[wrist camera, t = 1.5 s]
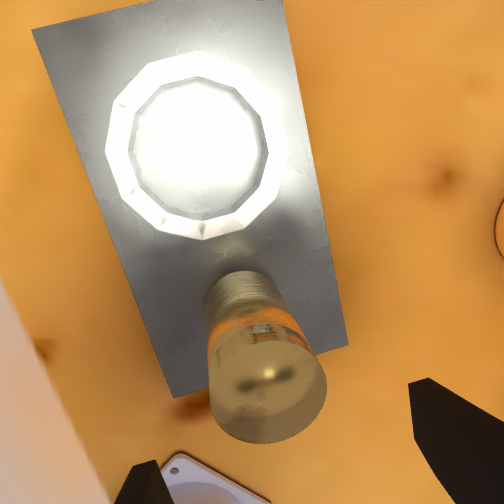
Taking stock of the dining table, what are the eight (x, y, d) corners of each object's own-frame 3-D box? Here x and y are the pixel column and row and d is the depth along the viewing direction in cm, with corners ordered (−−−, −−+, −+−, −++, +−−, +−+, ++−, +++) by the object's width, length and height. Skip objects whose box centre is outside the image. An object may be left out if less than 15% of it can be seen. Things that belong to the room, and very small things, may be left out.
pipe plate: (341, 335, 22) (359, 359, 19) (174, 386, 21) (171, 418, 19) (271, -20, 16) (285, -46, 14) (41, 36, 16) (13, 18, 13)
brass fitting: (247, 355, 20) (272, 461, 14) (188, 313, 19) (184, 407, 12) (297, 301, 20) (349, 383, 13) (240, 255, 18) (265, 319, 12)
